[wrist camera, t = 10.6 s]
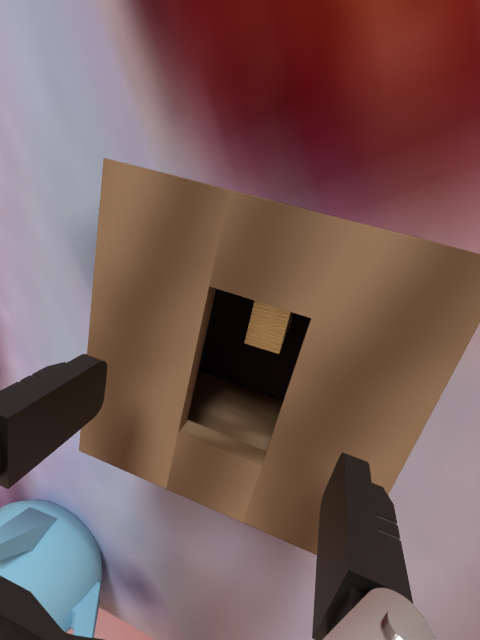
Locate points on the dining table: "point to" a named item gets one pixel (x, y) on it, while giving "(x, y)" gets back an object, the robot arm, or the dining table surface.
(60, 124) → the dining table surface
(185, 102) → the dining table surface
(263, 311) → the wooden block
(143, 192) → the box
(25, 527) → the teapot
